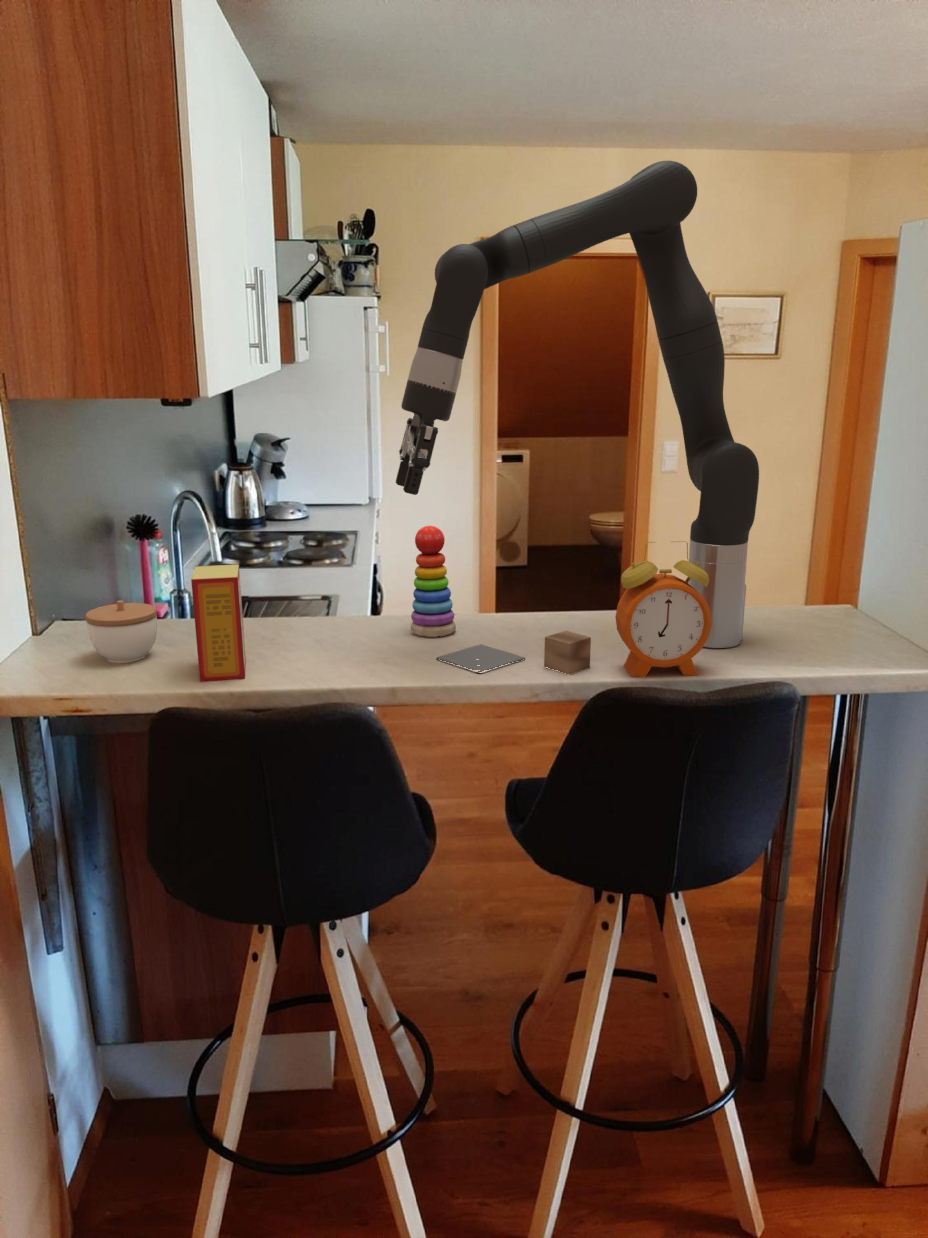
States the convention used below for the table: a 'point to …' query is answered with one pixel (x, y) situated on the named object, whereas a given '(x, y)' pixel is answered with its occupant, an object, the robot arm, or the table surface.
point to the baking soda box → (219, 622)
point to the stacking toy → (431, 587)
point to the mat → (480, 657)
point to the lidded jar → (122, 630)
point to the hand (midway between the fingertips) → (405, 489)
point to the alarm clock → (662, 617)
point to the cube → (567, 652)
